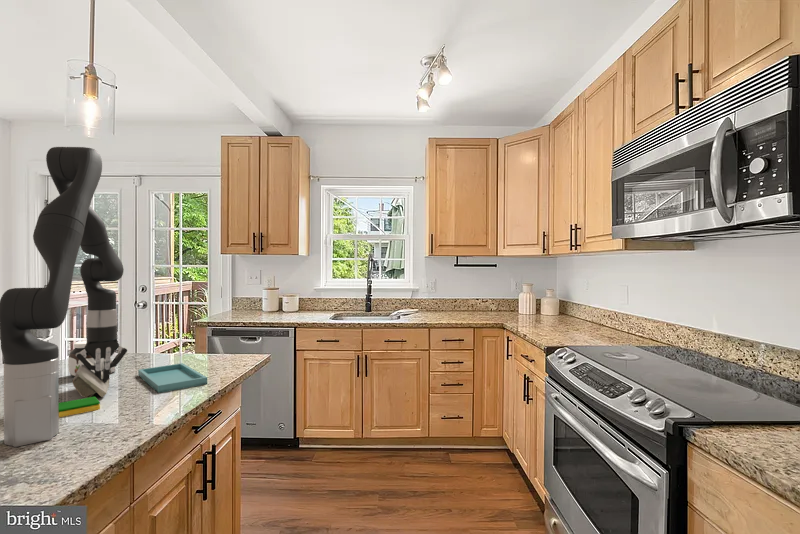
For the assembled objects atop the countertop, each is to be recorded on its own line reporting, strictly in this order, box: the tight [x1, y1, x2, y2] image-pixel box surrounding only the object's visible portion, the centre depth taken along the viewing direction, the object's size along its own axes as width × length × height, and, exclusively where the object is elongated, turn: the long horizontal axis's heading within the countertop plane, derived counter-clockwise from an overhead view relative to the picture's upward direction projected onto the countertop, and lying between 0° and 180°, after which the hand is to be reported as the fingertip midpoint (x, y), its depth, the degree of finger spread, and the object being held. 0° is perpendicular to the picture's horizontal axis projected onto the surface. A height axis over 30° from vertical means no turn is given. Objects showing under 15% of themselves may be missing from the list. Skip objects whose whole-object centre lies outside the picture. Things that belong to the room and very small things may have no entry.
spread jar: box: [67, 340, 116, 379], centre depth 147 cm, size 12×11×12 cm
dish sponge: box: [59, 396, 101, 418], centre depth 110 cm, size 7×14×2 cm, turn 134°
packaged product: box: [72, 359, 111, 398], centre depth 126 cm, size 18×5×10 cm
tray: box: [137, 362, 208, 394], centre depth 141 cm, size 26×14×2 cm, turn 43°
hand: (102, 382), depth 127 cm, fingers closed
